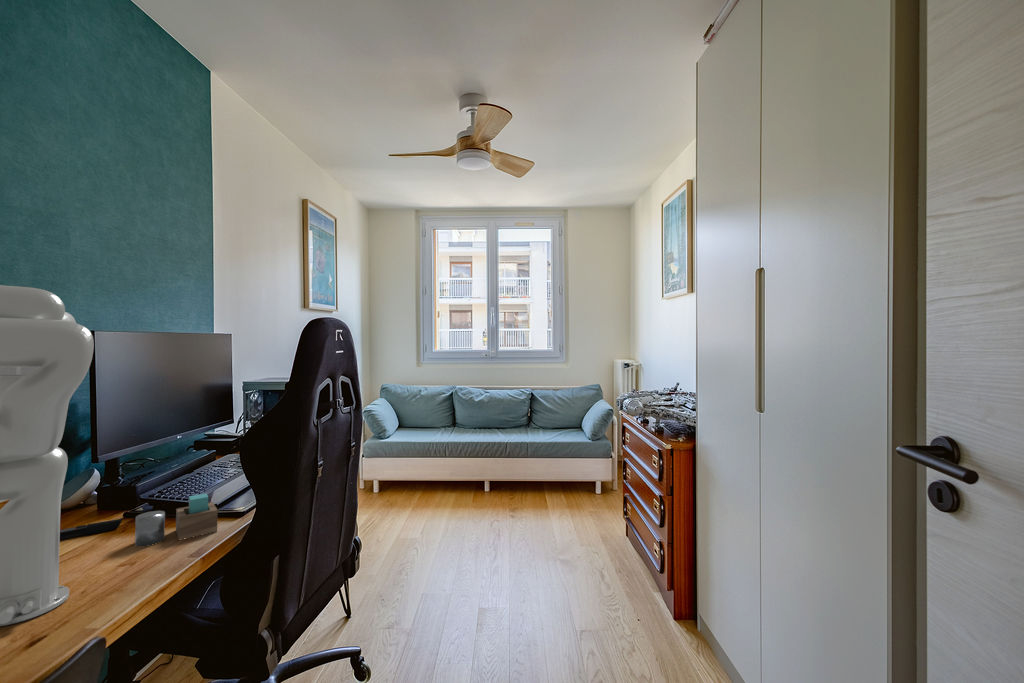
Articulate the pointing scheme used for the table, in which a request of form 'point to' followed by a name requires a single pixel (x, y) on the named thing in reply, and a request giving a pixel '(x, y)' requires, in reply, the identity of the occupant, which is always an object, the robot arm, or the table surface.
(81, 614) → the table surface
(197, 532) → the block
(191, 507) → the square peg
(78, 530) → the electric trimmer
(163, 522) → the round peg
